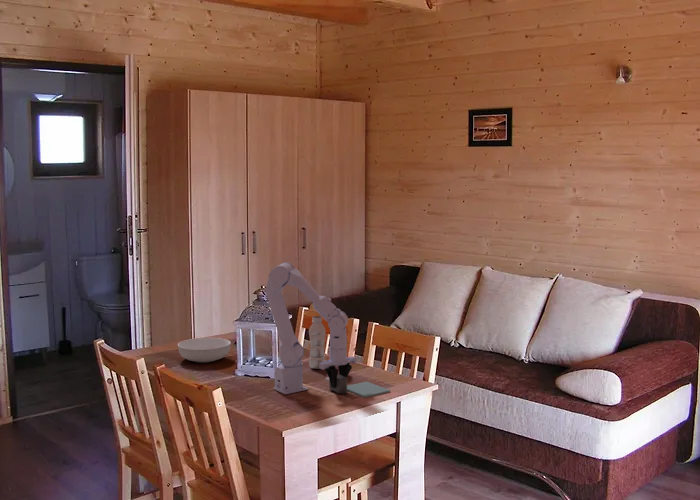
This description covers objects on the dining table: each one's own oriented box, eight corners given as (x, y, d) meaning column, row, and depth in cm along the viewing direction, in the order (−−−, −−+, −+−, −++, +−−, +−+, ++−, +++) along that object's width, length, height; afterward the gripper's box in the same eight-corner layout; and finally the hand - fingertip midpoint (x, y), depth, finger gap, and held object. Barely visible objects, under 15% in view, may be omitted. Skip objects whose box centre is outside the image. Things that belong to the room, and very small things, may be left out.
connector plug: (341, 394, 262) (341, 379, 261) (323, 386, 270) (323, 372, 270) (348, 392, 264) (349, 378, 263) (330, 385, 272) (331, 371, 272)
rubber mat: (364, 397, 260) (364, 396, 260) (342, 388, 270) (342, 386, 270) (390, 391, 267) (390, 390, 266) (367, 383, 277) (367, 381, 277)
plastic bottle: (305, 369, 294) (305, 318, 292) (313, 365, 300) (313, 314, 298) (321, 371, 292) (321, 319, 289) (328, 367, 298) (328, 316, 295)
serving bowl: (241, 357, 311) (241, 341, 311) (205, 369, 294) (205, 352, 293) (203, 350, 322) (203, 334, 322) (166, 362, 305) (166, 344, 304)
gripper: (327, 353, 257) (327, 392, 259) (362, 347, 266) (361, 385, 267) (315, 348, 263) (315, 387, 264) (349, 342, 271) (349, 380, 273)
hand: (338, 386), depth 266 cm, fingers closed on connector plug, 3 cm apart
